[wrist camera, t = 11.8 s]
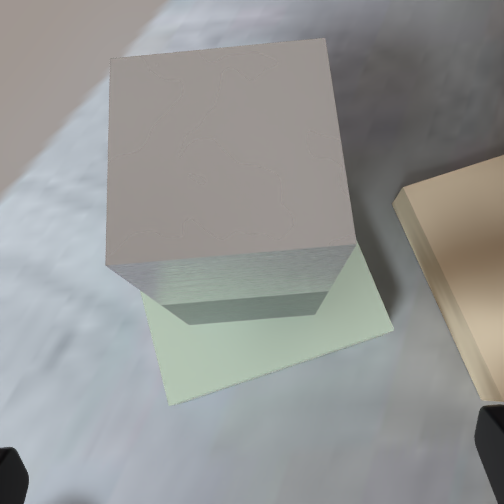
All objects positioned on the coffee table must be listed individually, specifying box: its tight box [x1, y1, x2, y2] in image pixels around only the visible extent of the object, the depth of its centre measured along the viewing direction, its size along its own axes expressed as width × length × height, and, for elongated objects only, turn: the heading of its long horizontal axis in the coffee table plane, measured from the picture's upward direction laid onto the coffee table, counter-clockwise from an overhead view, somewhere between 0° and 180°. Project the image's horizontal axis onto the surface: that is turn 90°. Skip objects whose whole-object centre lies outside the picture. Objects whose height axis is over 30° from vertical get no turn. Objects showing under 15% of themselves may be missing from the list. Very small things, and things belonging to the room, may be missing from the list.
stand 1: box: [140, 239, 394, 406], centre depth 21 cm, size 10×10×2 cm
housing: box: [106, 38, 357, 325], centre depth 15 cm, size 6×6×10 cm
